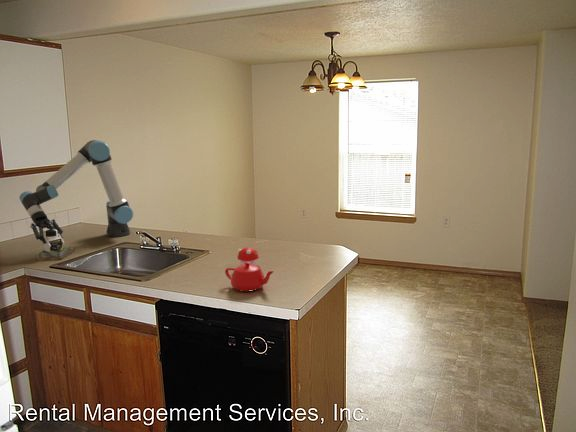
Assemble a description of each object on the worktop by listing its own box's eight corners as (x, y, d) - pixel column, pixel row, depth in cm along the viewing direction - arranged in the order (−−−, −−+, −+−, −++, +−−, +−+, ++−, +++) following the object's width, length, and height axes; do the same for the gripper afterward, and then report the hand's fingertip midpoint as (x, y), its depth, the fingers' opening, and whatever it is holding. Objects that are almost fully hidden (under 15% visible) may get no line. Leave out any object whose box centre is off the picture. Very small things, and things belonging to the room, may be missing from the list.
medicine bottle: (50, 252, 264) (48, 232, 261) (44, 250, 268) (41, 230, 265) (63, 250, 269) (60, 229, 267) (56, 248, 273) (54, 227, 271)
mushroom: (239, 266, 245) (238, 244, 243) (260, 266, 245) (259, 244, 242) (236, 273, 235) (235, 250, 232) (258, 273, 234) (257, 250, 232)
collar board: (72, 252, 276) (71, 246, 276) (61, 259, 263) (60, 253, 262) (48, 253, 276) (47, 247, 275) (36, 260, 262) (35, 254, 262)
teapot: (217, 290, 212) (215, 264, 210) (234, 279, 226) (233, 255, 224) (267, 298, 202) (266, 270, 200) (282, 286, 216) (281, 260, 214)
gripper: (52, 215, 282) (71, 245, 276) (17, 222, 265) (36, 253, 260) (56, 207, 278) (75, 237, 272) (21, 213, 261) (40, 245, 256)
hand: (56, 245), depth 266 cm, fingers closed on medicine bottle, 7 cm apart
